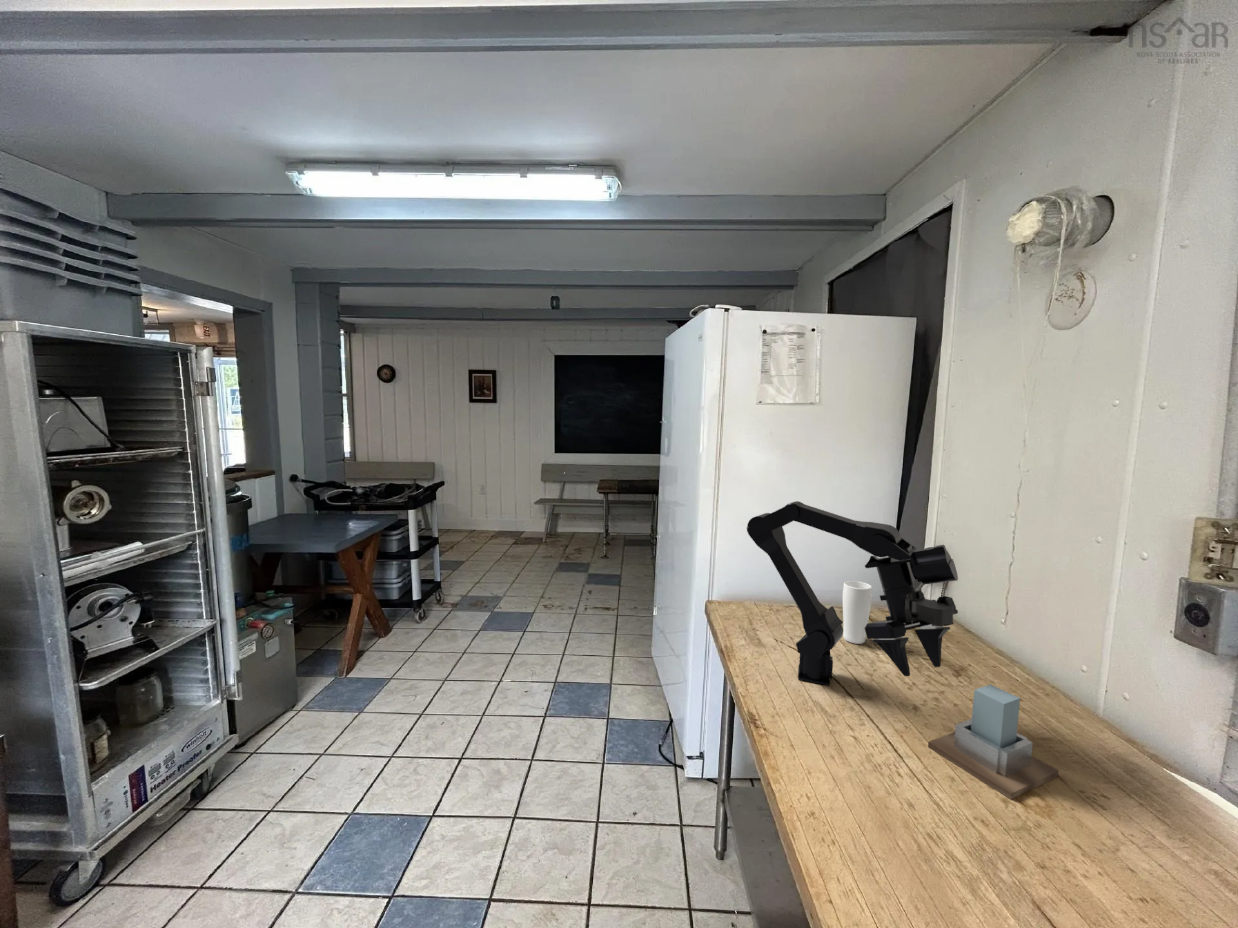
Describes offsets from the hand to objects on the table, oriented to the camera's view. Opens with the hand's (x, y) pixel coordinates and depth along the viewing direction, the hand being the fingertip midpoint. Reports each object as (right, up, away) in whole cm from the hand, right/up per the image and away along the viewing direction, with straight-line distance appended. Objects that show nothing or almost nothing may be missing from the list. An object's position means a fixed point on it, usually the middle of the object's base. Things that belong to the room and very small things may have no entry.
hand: (922, 671), depth 94 cm
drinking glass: (+4, -7, +35) cm, 36 cm away
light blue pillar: (+5, -10, -10) cm, 15 cm away
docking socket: (+5, -11, -10) cm, 16 cm away
